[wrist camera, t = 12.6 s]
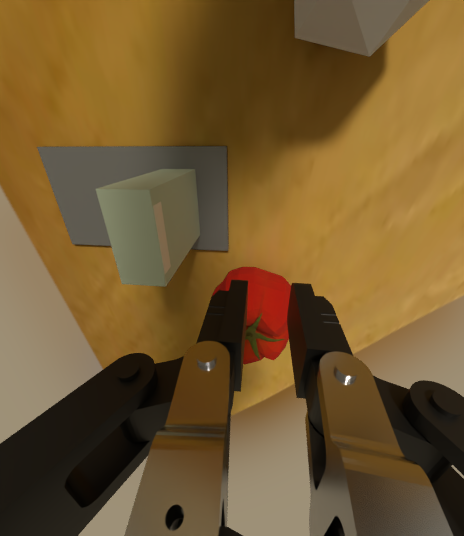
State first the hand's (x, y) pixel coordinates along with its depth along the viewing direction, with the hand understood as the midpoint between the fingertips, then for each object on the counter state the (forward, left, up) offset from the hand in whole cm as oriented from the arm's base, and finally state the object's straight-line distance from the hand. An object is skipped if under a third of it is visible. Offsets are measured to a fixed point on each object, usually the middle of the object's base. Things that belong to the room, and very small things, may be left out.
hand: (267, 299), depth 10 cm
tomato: (+12, -1, -17) cm, 21 cm away
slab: (0, -9, -17) cm, 19 cm away
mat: (0, -14, -17) cm, 22 cm away
